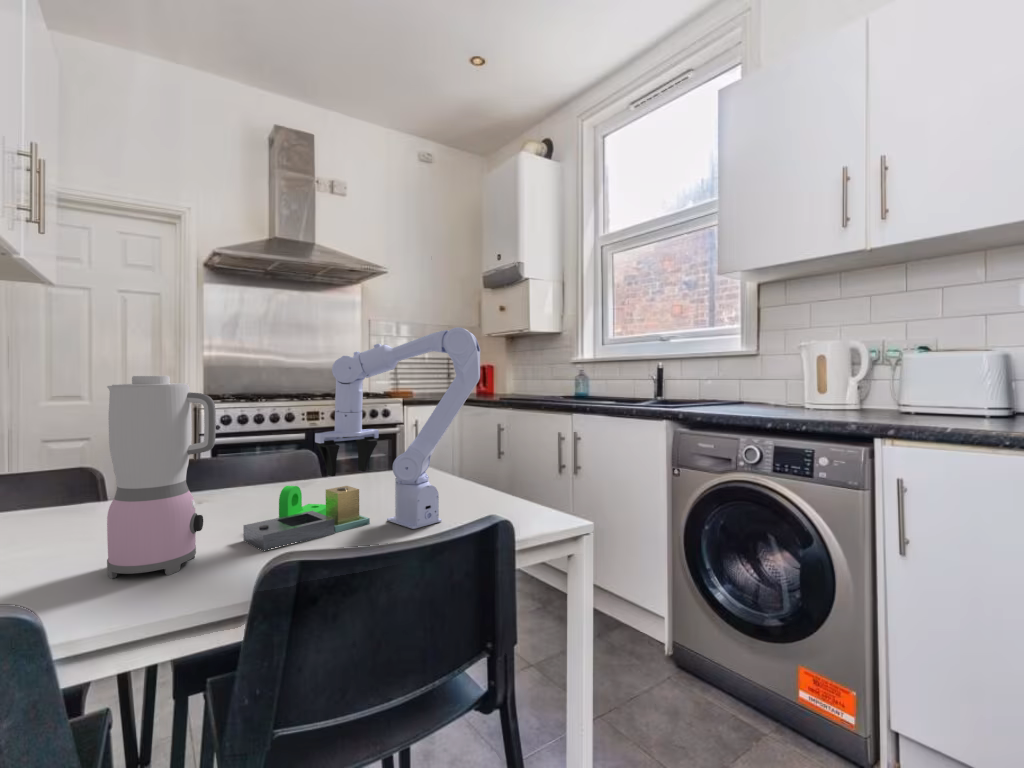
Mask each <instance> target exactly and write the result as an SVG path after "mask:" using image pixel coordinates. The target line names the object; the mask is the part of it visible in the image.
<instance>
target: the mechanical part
mask: <svg viewBox="0 0 1024 768" xmlns="http://www.w3.org/2000/svg"><path fill="white" fill-rule="evenodd" d="M302 497H303V495H302V490H301V487H299V486H298V485H285V486H284V487H283V488H281V491H280V493H279V497H278V518H280V517H285V516H290V515H294V514H299V513H304V512H309V511H315V512H317V513H320V514H323V515H325V516H326V504H322V503H308V504H305V505H303V502H302V501H303V498H302ZM302 505H303V506H302Z"/></svg>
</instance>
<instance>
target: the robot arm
mask: <svg viewBox="0 0 1024 768" xmlns="http://www.w3.org/2000/svg"><path fill="white" fill-rule="evenodd" d="M431 352H436V353H443V354H447V355H448V357H449V358H450V359H451V361H452V365H453V369H454V372H455V377H454V379H453V380H452V382H451V383H450V385H449V386H448V388H447V390H446V391H445V393H444V394H443V396H442V397H441V399H440V401H439V402H438V403H437V405H436V407H435V408H434V409H433V411H432V413H431V414H430V416H429V417H428V419H427V420H426V422H425V423H424V425H423V426H422V428H421V430H420V431H419V433H418V434H417V436H416V437H415V438H414V439H413V441H412V442H411V443H410V444H409V446H408V447H407V449H406V450H405V451H404V452H402V453H401V454H399V455H398V456H397V457H396V458H395V459H394V460H393V463H392V472H393V475H394V476H395V478H394V479H395V481H394V488H395V491H394V494H395V495H394V497H395V498H394V499H395V500H394V507H395V509H394V515H395V516H391V517H387V518H386V521H387V522H390V523H394V524H396V525H399V526H402V527H405V528H409V529H412V530H415V529H419V528H423V527H425V526H430V525H433V524H436V523H441V522H442V518H440V517H439V512H440V511H439V510H440V509H439V503H440V502H439V498H440V497H439V491H438V489H437V487H436V486H434V485H433V484H431V483H430V480H429V478H430V477H429V476H428V473H427V472H426V471H427V470H428V469H429V467H430V464H431V458H432V455H433V454H434V452H435V450H436V447H437V446H438V444H439V443H440V442H441V439H442V438H443V436H444V435H445V433H446V432H447V430H448V428H449V427H450V426H451V424H452V423H453V422H454V419H455V418H456V417H457V414H459V412H460V410H461V409H462V407H463V406H464V404H466V403H465V402H466V400H467V399H468V398H469V397H470V395H471V394H472V392H473V391H474V389H475V388H476V386H477V385H478V383H479V381H480V379H481V348H480V344H479V341H478V339H477V337H476V336H475V335H474V334H473V333H472V332H471V331H469V330H468V329H466V328H463V327H453V328H451V329H449V330H447V329H444V330H439V331H435V332H433V333H429V334H427V335H424V336H422V337H418V338H416V339H414V340H413V339H412V340H410V341H407V342H406V343H403V344H400V345H397V346H395V347H392V346H390V345H388V344H381V343H376V344H374V345H373V348H370V349H367V350H364V351H361V352H360V351H358V350H357V351H354V352H353V356H349V355H342V356H340V357H338V358H337V359H336V360H335V361H334V362H333V364H332V367H331V373H332V375H333V378H334V379H335V397H334V398H335V399H334V401H335V402H334V403H335V406H334V430H332V431H331V430H330V431H324V432H315V433H314V443H316V447H317V448H318V450H319V452H320V454H321V456H322V458H323V462H324V464H325V470H326V473H327V476H330V477H336V474H337V459H338V453H339V449H340V445H339V444H336V442H345V441H354V440H355V443H356V448H357V449H356V450H357V468H358V471H360V472H367V468H368V465H369V462H370V458H371V456H372V454H373V451H374V450H375V448H376V446H377V445H378V439H379V437H380V436H379V434H380V433H379V432H380V431H379V429H376V428H366V429H363V401H364V400H363V399H364V397H363V396H364V393H363V392H364V391H363V390H364V389H363V386H364V383H363V382H364V380H365V378H366V379H368V378H371V377H375V376H377V375H380V374H384V373H387V372H389V371H393V370H395V369H396V367H397V365H398V363H399V362H401V361H405V360H408V359H410V358H414V357H417V356H421V355H424V354H428V353H431Z"/></svg>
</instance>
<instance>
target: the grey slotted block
mask: <svg viewBox="0 0 1024 768" xmlns="http://www.w3.org/2000/svg"><path fill="white" fill-rule="evenodd" d="M242 530H243V542H245V541H246V542H245V543H247V542H248V544H249V545H251V546H252V545H253V546H252V547H254V546H255V547H254V548H256V547H257V548H256V549H258V548H259V549H258V550H260V549H261V550H263V551H264V550H268V549H271V548H275V547H279V546H283V545H287V544H291V543H295V542H299V543H301V542H300V541H303V542H307V541H311V540H315V539H317V538H318V539H319V538H323V537H327V536H330V535H335V532H334V519H333V518H331V517H328V516H325V515H323V514H320V513H317V512H315V511H309V512H304V513H299V514H294V515H290V516H285V517H280V518H279V517H277V518H271V519H267V520H263V521H257V522H252V523H247V524H243V529H242ZM306 540H307V541H306ZM295 544H296V543H295ZM261 550H260V551H261ZM263 551H262V552H263ZM268 551H269V550H268ZM264 552H265V551H264Z"/></svg>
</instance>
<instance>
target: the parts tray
mask: <svg viewBox="0 0 1024 768" xmlns="http://www.w3.org/2000/svg"><path fill="white" fill-rule="evenodd" d="M370 523H371V522H370V518H369V517H367V516H365V515H361V514H359V520H357V521H353V522H349V523H345V524H341V525H337V526H336V525H334V533H338V532H343V531H347V530H350V529H355V528H359V527H363V526H366V525H370Z"/></svg>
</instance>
